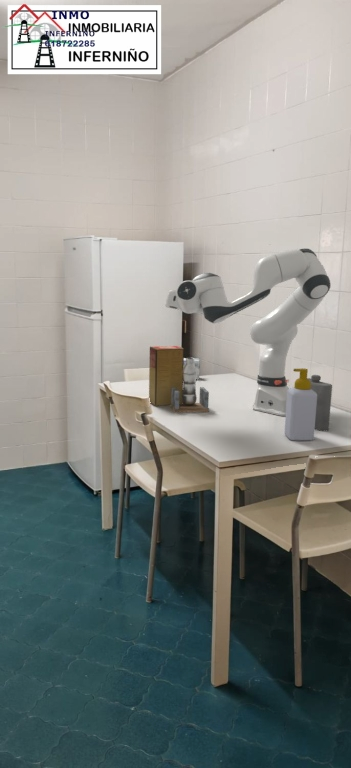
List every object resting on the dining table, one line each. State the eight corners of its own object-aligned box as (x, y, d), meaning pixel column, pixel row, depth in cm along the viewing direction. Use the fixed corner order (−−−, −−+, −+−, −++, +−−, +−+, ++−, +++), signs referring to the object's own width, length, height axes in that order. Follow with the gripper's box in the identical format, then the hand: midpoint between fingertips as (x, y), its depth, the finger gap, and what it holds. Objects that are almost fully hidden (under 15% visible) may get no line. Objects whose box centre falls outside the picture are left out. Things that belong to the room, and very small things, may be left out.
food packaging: (175, 399, 259) (177, 345, 254) (183, 404, 251) (185, 348, 246) (147, 401, 254) (148, 346, 249) (155, 406, 246) (156, 349, 241)
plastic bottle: (179, 405, 242) (180, 359, 238) (183, 401, 249) (184, 356, 244) (194, 406, 241) (196, 360, 236) (197, 402, 247) (198, 357, 243)
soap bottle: (283, 434, 210) (288, 366, 205) (307, 434, 211) (312, 367, 206) (289, 441, 201) (294, 371, 196) (314, 441, 202) (320, 371, 197)
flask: (294, 421, 228) (298, 372, 224) (306, 420, 230) (310, 371, 226) (319, 431, 215) (323, 379, 211) (331, 430, 217) (335, 378, 213)
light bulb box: (199, 377, 314) (200, 358, 311) (198, 380, 307) (199, 360, 305) (180, 376, 315) (180, 357, 312) (178, 379, 308) (179, 359, 306)
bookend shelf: (208, 411, 240) (209, 392, 238) (174, 412, 237) (175, 392, 235) (203, 406, 249) (203, 387, 248) (170, 406, 247) (170, 387, 245)
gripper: (217, 298, 222) (217, 307, 235) (165, 289, 224) (169, 298, 238) (214, 314, 221) (214, 322, 235) (162, 305, 223) (166, 313, 237)
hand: (191, 310), depth 236 cm, fingers open, 8 cm apart
